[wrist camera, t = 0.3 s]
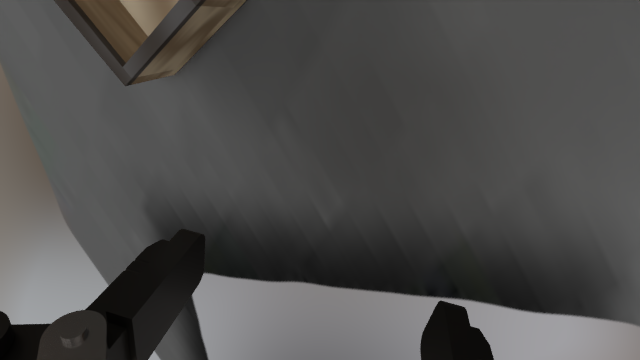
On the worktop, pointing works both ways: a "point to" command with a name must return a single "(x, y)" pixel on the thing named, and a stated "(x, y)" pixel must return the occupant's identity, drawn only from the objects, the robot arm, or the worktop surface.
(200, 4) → the wooden box
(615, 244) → the worktop surface
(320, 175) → the worktop surface
